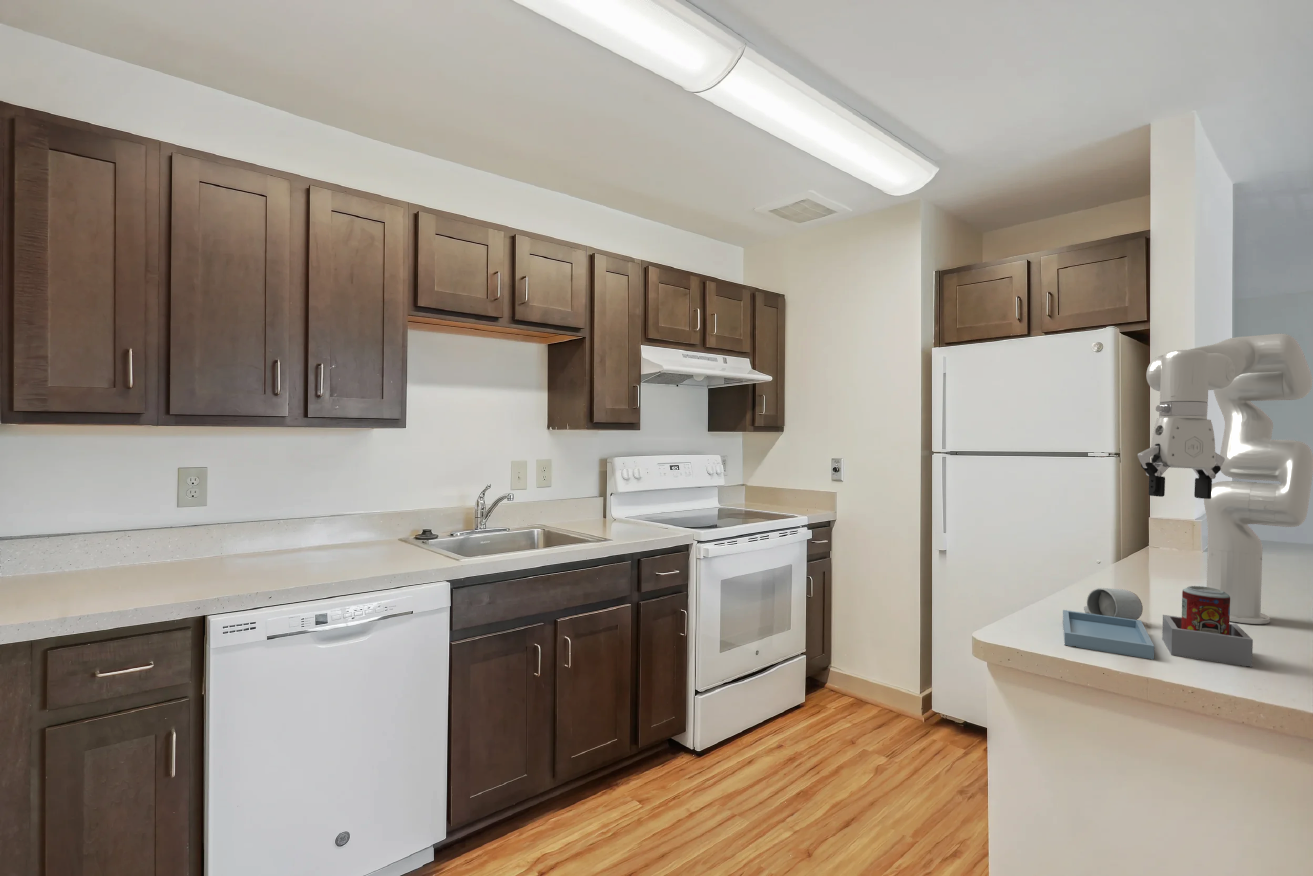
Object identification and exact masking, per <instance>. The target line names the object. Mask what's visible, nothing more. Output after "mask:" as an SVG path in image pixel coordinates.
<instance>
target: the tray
mask: <svg viewBox="0 0 1313 876" xmlns="http://www.w3.org/2000/svg"><path fill="white" fill-rule="evenodd" d="M1062 630H1064V631H1063V641H1064V643H1065V644H1064V646H1066V645H1068V647H1072V646H1076V647H1075V648H1079V649H1084V650H1085V649H1086V650H1091V651H1092V650H1093V651H1098V652H1099V651H1100V652H1105V653H1111V654H1116V655H1117V654H1118V655H1123V656H1130V657H1137V658H1144V659H1147V660H1148V659H1149V660H1154V659H1155V645H1154V643H1153V641H1152V640H1151V637H1150V635H1149V633H1148V631H1147V628H1146V627H1145V626H1144V624H1143V621H1142V620H1140V619H1137V620H1134V619H1126V618H1119V617H1112V616H1104V615H1097V614H1089V613H1085V612H1082V611H1073V610H1067V609H1066V610H1065V609H1063V610H1062Z"/></svg>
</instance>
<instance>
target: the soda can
mask: <svg viewBox="0 0 1313 876" xmlns="http://www.w3.org/2000/svg"><path fill="white" fill-rule="evenodd" d="M1181 617H1182V622H1181V629H1187V630H1194V631H1201V632H1209V633H1216V634H1223V635H1229V623H1230V622H1231V621H1230V596H1229V595H1228V594H1227V593H1225V592H1224V591H1221V590H1219V589H1215V588H1210V587H1207V586H1202V585H1201V586H1200V585H1191V586H1187V587H1184V588H1183V589H1182V592H1181Z"/></svg>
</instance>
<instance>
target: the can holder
mask: <svg viewBox="0 0 1313 876" xmlns="http://www.w3.org/2000/svg"><path fill="white" fill-rule="evenodd" d="M1181 622H1182V616H1177V615H1176V616H1174V615H1168V614H1162V633H1161V634H1162V635H1161V639H1162V641H1163V642H1164V645H1165V646H1166V648H1167V650H1168V651H1169V654H1170V655H1171V656H1177V657H1181V658H1182V657H1183V658H1189V659H1195V660H1201V661H1207V662H1216V663H1222V664H1227V665H1234V666H1240V665H1242V666H1241V667H1246V666H1250V667H1249V668H1253V648H1254V647H1253V643H1254V641H1253V638H1252V637H1250V636H1249V634H1248V633H1246V632H1245V630H1244V629H1242V628H1241V627H1240V626H1239V625H1238V624H1236V623H1230V622H1229V635H1223V634H1216V633H1209V632H1201V631H1194V630H1187V629H1181Z"/></svg>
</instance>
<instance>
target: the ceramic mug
mask: <svg viewBox="0 0 1313 876" xmlns="http://www.w3.org/2000/svg"><path fill="white" fill-rule="evenodd" d="M1143 606H1144V605H1143V603H1142V601H1141V599H1140V597H1139V596H1138V595H1137V594H1136V593H1134V592H1133V591H1130V590H1127V589H1122V588H1105V587H1097V588H1095V589H1092V590H1091V591H1090V593H1088V595H1087V598H1086V605H1085V606H1084V607H1083V611H1084V613H1089V614H1097V615H1104V616H1112V617H1119V618H1126V619H1134V620H1140V617H1142V615H1143V610H1144V607H1143Z"/></svg>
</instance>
